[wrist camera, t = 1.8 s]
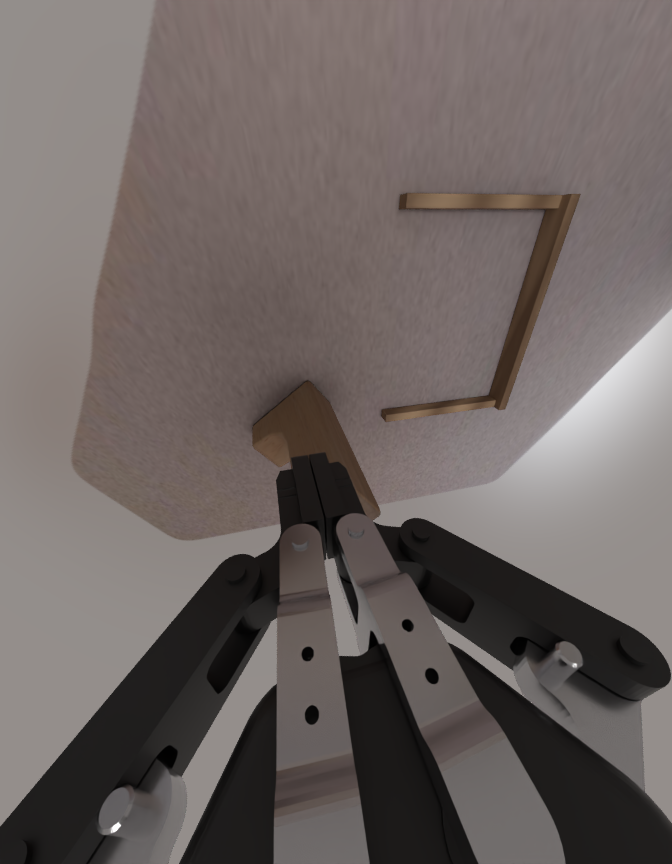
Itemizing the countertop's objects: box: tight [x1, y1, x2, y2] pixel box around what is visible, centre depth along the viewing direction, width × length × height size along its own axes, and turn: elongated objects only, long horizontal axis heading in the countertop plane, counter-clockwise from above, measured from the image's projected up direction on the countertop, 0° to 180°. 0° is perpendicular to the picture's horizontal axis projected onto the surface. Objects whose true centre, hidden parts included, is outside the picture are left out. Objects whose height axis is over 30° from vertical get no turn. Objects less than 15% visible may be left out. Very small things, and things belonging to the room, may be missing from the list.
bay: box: [382, 193, 580, 422], centre depth 33 cm, size 17×23×2 cm
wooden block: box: [253, 381, 380, 521], centre depth 29 cm, size 9×4×18 cm, turn 127°
